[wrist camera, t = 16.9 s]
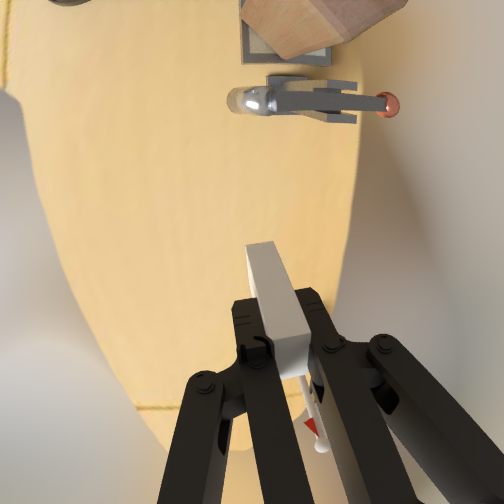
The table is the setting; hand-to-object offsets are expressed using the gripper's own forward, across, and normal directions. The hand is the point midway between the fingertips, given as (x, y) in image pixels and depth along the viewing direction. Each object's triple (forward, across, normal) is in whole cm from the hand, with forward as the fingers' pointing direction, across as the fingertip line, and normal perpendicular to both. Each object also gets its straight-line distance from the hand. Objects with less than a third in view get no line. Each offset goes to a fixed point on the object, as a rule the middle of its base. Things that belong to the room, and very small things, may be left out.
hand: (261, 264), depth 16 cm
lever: (+17, +9, +8) cm, 20 cm away
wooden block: (+29, +10, +20) cm, 37 cm away
